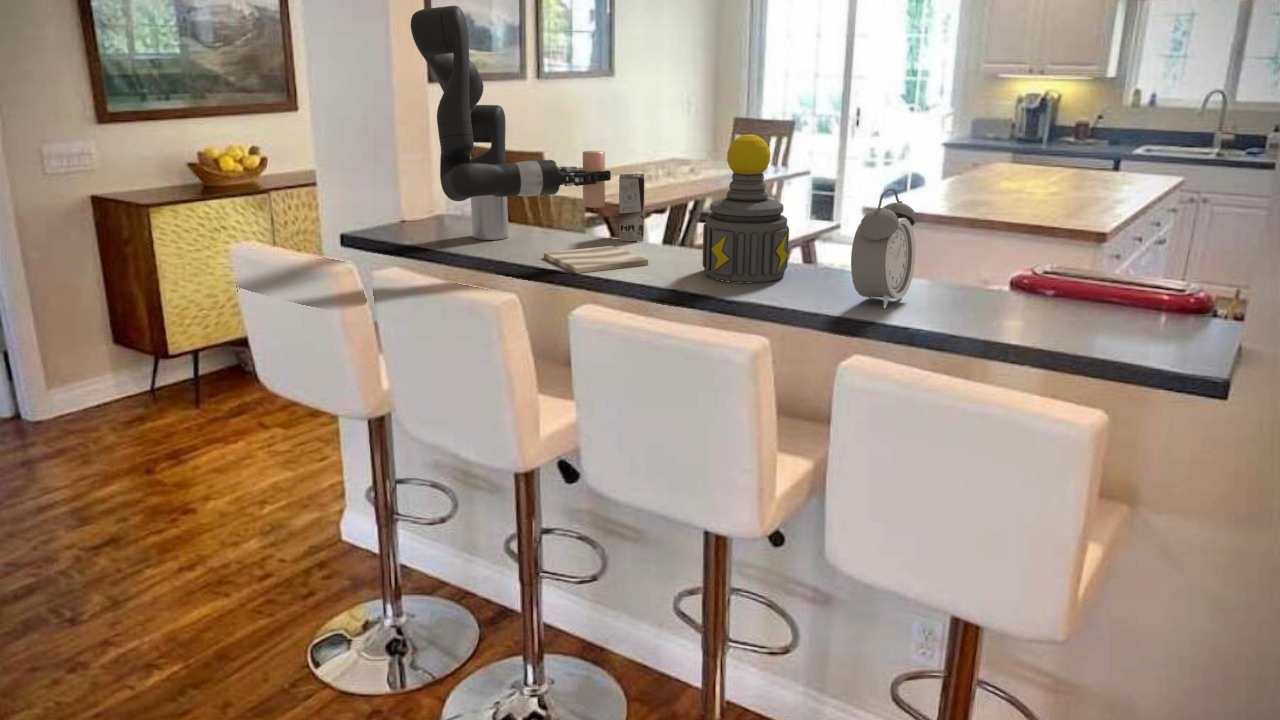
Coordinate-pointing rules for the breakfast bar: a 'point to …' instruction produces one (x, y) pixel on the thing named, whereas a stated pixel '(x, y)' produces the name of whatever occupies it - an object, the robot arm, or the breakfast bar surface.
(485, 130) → the robot arm
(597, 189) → the terracotta canister
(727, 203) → the decorative lamp
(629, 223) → the coffee box
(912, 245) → the alarm clock
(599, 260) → the ash board
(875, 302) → the breakfast bar surface
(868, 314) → the breakfast bar surface
